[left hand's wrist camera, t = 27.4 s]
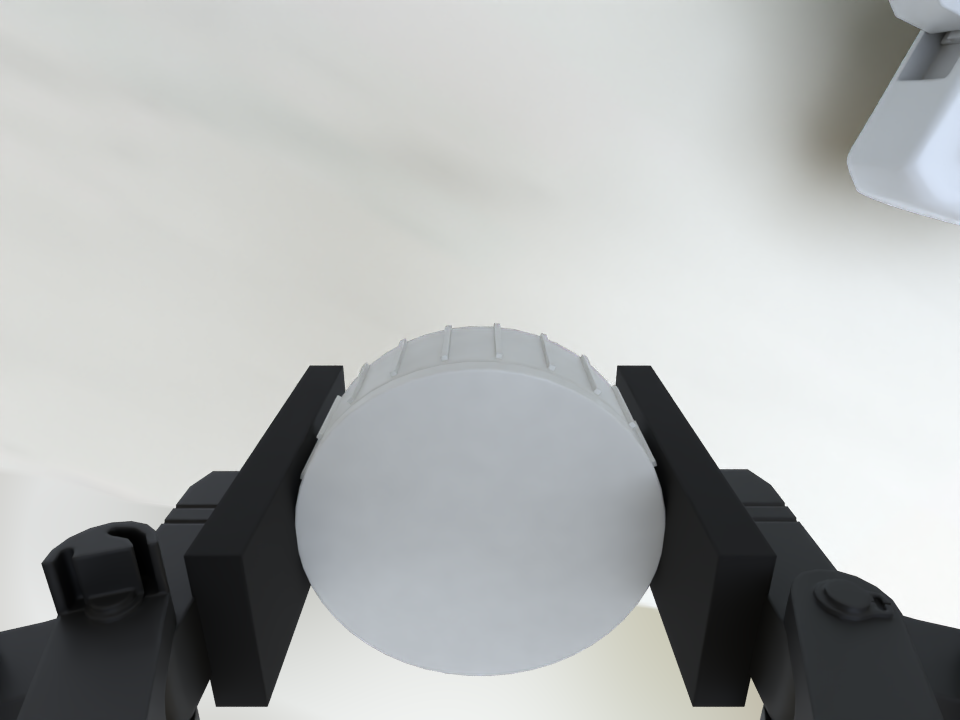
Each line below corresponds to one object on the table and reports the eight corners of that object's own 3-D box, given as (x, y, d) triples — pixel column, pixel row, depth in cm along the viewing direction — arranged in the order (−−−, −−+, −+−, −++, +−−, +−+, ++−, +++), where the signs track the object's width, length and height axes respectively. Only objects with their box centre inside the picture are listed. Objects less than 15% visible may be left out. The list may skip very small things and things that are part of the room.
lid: (255, 406, 12) (212, 463, 10) (565, 261, 11) (583, 295, 9) (414, 636, 14) (403, 720, 12) (684, 533, 13) (721, 608, 11)
